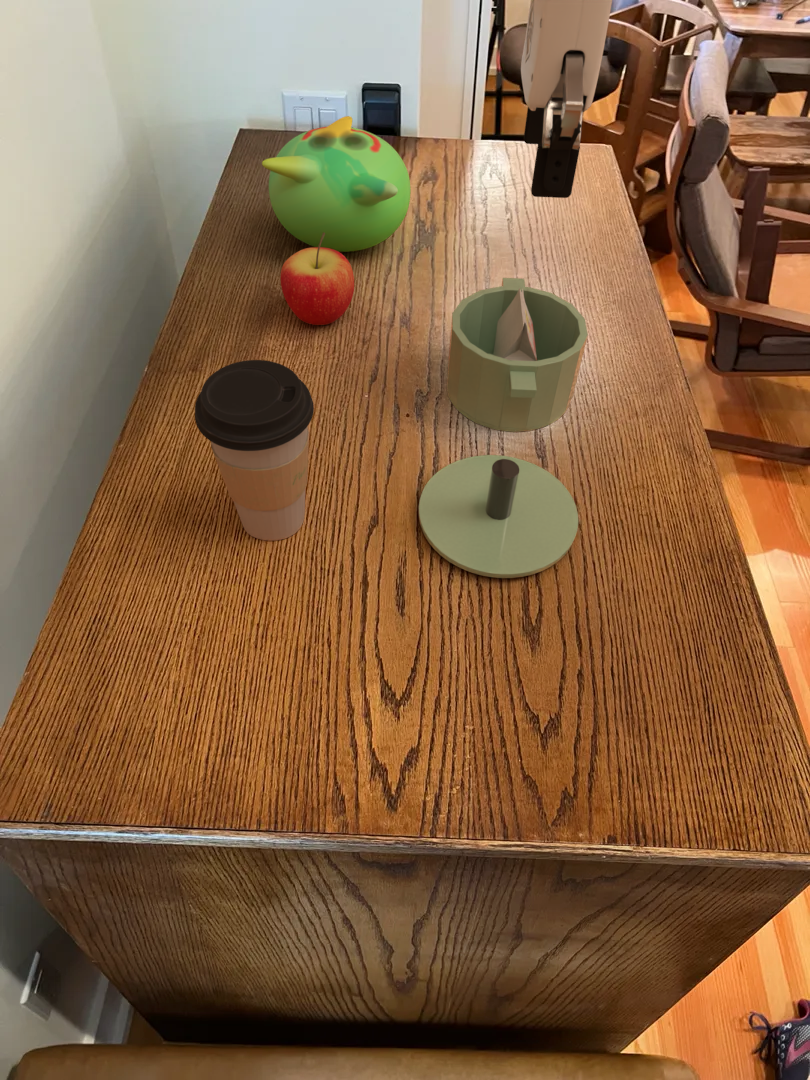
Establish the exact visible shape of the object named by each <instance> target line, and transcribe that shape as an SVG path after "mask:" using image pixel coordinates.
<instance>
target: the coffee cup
mask: <svg viewBox="0 0 810 1080" xmlns="http://www.w3.org/2000/svg"><path fill="white" fill-rule="evenodd" d="M314 413H315V403H314V400H313V398H312V394H311V391H310V390H309V388H308V387H307V384H306V383H304V381H303V380H301V379H300V378H299V377H298V375H297V373H295V372H294V371H293V370H292V369H291V368H290V367H287V366H286V365H284V364H281V363H278V362H275V361H271V360H264V359H247V360H241V361H236V362H233V363H230V364H228V365H225V366H223V367H221V368H219V369H218V370H216V371H215V372H213V373H212V374H211V375H209V377H208V378H207V379H206V380H205V381H204V383H203V385H202V388H201V390H200V392H199V394H198V396H197V398H196V400H195V404H194V421H195V425H196V427H197V429H198V430H199V432H200V434H202V435H203V437H204V438H206V440H208V441H209V442H210V448H211V450H212V453H213V456H214V458H215V462H216V463H217V467H218V470H219V472H220V474H221V477H222V480H223V483H224V485H225V488H226V489H227V493H228V496H229V498H230V499H231V500H232V502H233V504H234V506H235V509H236V512H237V514H238V517H239V519H240V523H241V525H242V527H243V529H244V531H245V533H247V534H248V535H249V536H250V537H253V538H256V539H258V540H261V541H268V542H270V541H273V542H274V541H281V540H285V539H288V538H290V537H292V536H294V535H295V534H296V533H298V531H299V530H300V529H301V527H302V525H303V524H304V520H305V515H306V514H305V512H306V488H307V484H308V476H309V475H308V474H309V448H310V447H309V444H310V443H309V442H310V431H309V425H310V423H311V421H312V420H313V416H314Z"/></svg>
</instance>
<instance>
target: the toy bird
mask: <svg viewBox="0 0 810 1080" xmlns="http://www.w3.org/2000/svg"><path fill="white" fill-rule="evenodd" d="M352 126H353V117H352V116H350V115H345V116H343V117H340V118H339V119H337V120H335V121H334V122H332V123H330V124H329V125H327V126H322V127H316V128H313V129H308V130H307V131H304V132H302V133H300V134H297V135H296V136H294V137H293V138H292V139H290V140H289V141H288V142H286V143H285V144H284V146H283V147H282V148H281V149H280V150H279V151H278V153H277V155H276V156H275V157H269V158H265V159H264V160H262V161H261V165H262V167H263V168H264V169H266V170H268V171H269V176H268V196H269V201H270V205H271V208H272V210H273V212H274V214H275V217H276V218H277V220H278V221H279V223H280V224H281V225H282V227H283V228H284V229H285V230H286V231H287V232H288V233H289V234H290V235H292V236H293V237H294V238H295V239H297V240H299V241H301V242H303V243H305V244H306V245H308V246H311V247H318V246H319V243H320V239H321V236H322V234H323V232H324V233H325V235H324V238H323V240H322V243H321V246H320V247H323V248H330V249H334V250H336V251H338V252H340V253H346V252H347V253H348V252H357V251H363V250H366V249H370V248H372V247H375V246H378V245H380V244H381V243H383V242H385V241H386V240H387V239H388V238H390V237H391V236H392V235H393V234H394V233H395V232H396V231H397V230H398V229H399V227H400V226H401V225H402V224H403V221H404V220H405V218H406V215H407V213H408V210H409V208H410V202H411V192H412V189H411V180H410V179H411V178H410V175H409V172H408V168H407V166H406V164H405V162H404V160H403V159H402V157H401V155H400V154H399V153H398V151H396V149H395V148H394V147H393V146H392V145H391V144H389V142H387V141H386V140H385V139H384V138H381V137H379V136H378V135H376V134H374V133H372V132H370V131H367V130H364V129H360V128H357V127H352Z"/></svg>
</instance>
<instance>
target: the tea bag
mask: <svg viewBox="0 0 810 1080" xmlns="http://www.w3.org/2000/svg"><path fill="white" fill-rule="evenodd" d="M493 355H495V356H498V357H501V358H505V359H508V360H517V361H537V357H536V348H535V339H534V331H533V322H532V320H531V317H530V314H529V311H528V309H527V306H526V303H525V299H524V293H523V289H522V292H521V290H520V288H519V290H518V292H517V294H516V296H515V298H514V299H513V301H512V302H511V304H510V305H509V306H508V308H507V309H506V311H505V312H504V313H503V315H502V316H501V317H500V319H499V320H498V323H497V330H496V338H495V345H494V352H493Z"/></svg>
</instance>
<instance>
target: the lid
mask: <svg viewBox="0 0 810 1080" xmlns="http://www.w3.org/2000/svg"><path fill="white" fill-rule="evenodd" d="M418 502H419V503H418V520H419V526H420V529H421V532H422V533H423V536H424V537H425V539H426V541H427V542H428V543H429V545H430V546H431V547H432V548H433V549H434V551H435V552H436V553H438V554H439V555H440V557H442V558H443V559H445V560H446V561H447V562H449V563H450V564H452V565H454V566H456V567H457V568H460V569H462V570H464V571H467V572H469V573H472V574H475V575H479V576H483V577H488V578H495V579H496V578H497V579H514V578H523V577H526V576H531V575H532V576H533V575H534V574H538V573H540V572H543V571H546V570H548V569H549V568H551V567H553V566H554V565H556V564H557V563H558V562H559V561H561V560H562V558H564V557H565V556H566V555H567V553H568V552H569V551H570V549H571V548H572V546H573V544H574V542H575V540H576V536H577V533H578V528H579V513H578V508H577V505H576V502H575V499H574V497H573V496H572V494H571V493H570V491H569V490H568V489H567V487H566V486H565V485H564V484H563V483H562V482H561V481H560V480H559V478H557V476H555V475H553V474H552V473H551V472H549V471H547V469H545V468H543V467H541V466H539V465H537V464H535V463H533V462H530V461H527V460H525V459H521V458H518V457H513V456H510V455H509V456H508V455H500V454H482V455H474V456H469V457H464V458H461V459H459V460H456V461H453V462H451V463H449V464H447V465H446V466H444V467H442V468H441V469H439V470H438V471H437V472H435V474H434V475H432V476H431V477H430V478H429V480H428V481H427V483H426V484H425V485H424V487H423V489H422V492H421V494H420V497H419V501H418Z"/></svg>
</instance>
